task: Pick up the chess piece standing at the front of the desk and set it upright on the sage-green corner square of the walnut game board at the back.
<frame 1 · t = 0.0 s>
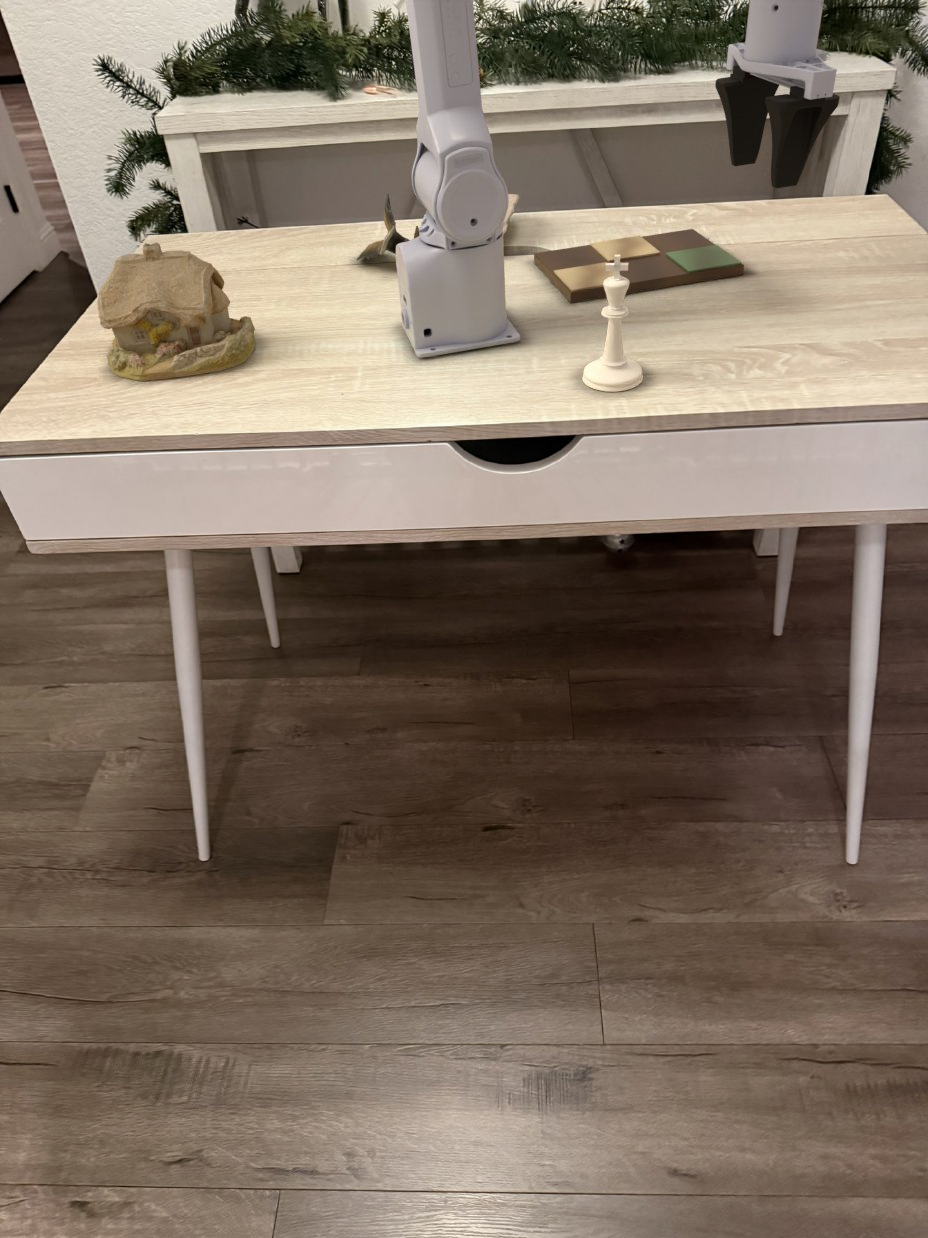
hand: (763, 174, 82), 10 cm above the table, tool pointing down, fingers open, 7 cm apart
eagle figurine: (395, 265, 100), on the table
board: (634, 268, 94), on the table
stone tool: (482, 239, 105), on the table
chess piece: (612, 380, 76), on the table
ceramic model: (183, 355, 86), on the table
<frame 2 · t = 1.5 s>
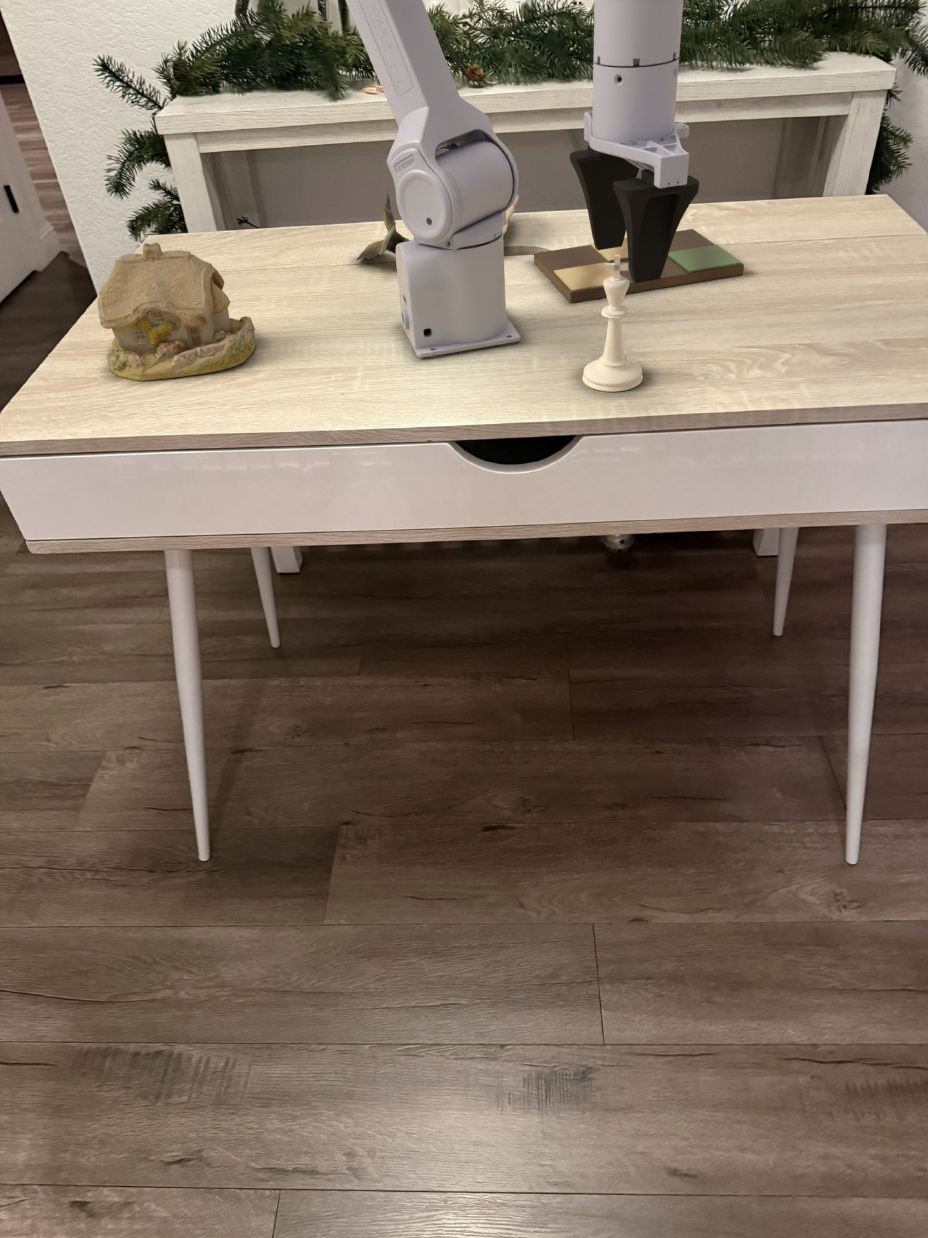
hand: (626, 262, 71), 9 cm above the table, tool pointing down, fingers open, 7 cm apart
nothing on the table moved.
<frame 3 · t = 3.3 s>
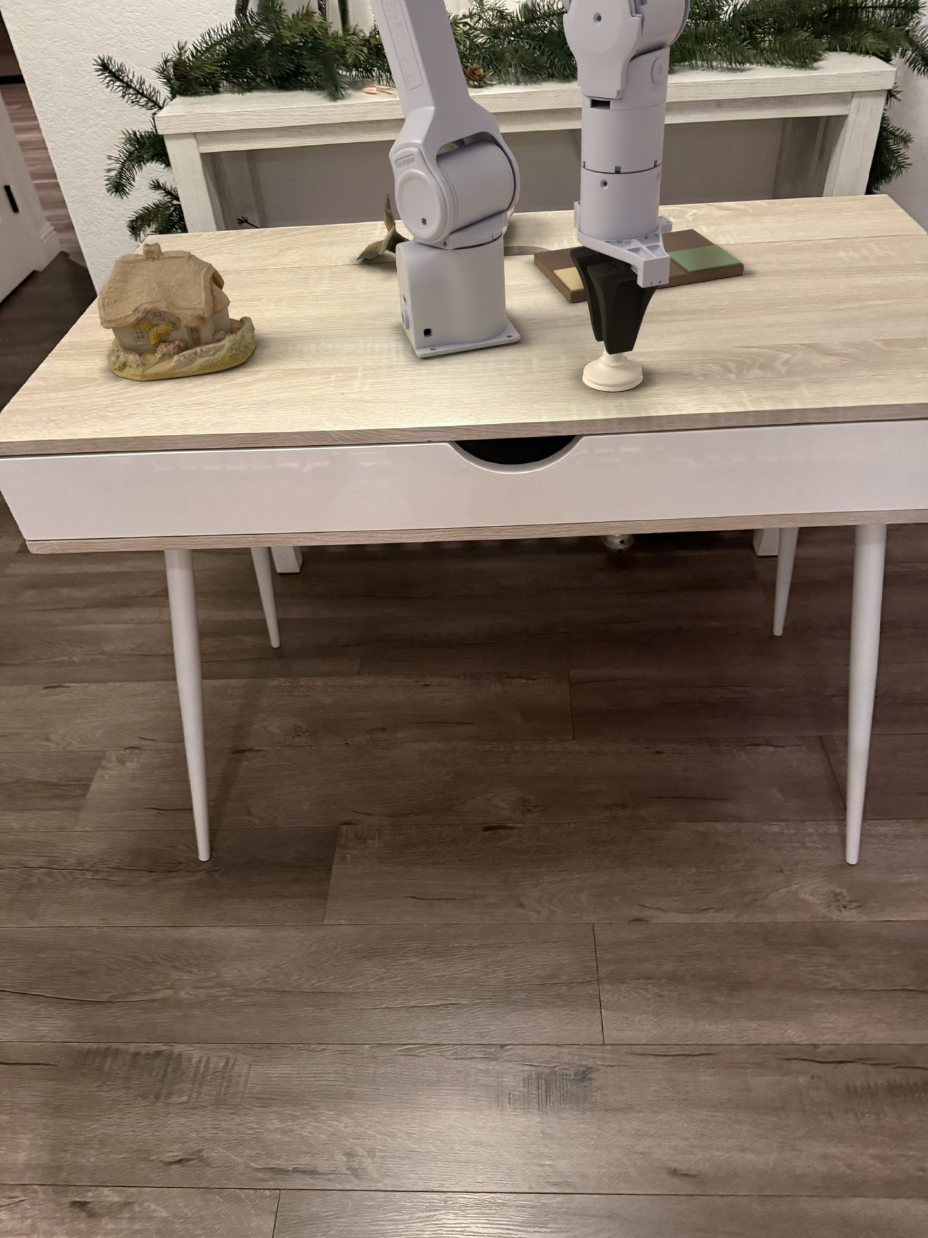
hand: (613, 344, 74), 3 cm above the table, tool pointing down, fingers closed on chess piece
chess piece: (612, 380, 76), on the table, touching gripper
everything else where it was.
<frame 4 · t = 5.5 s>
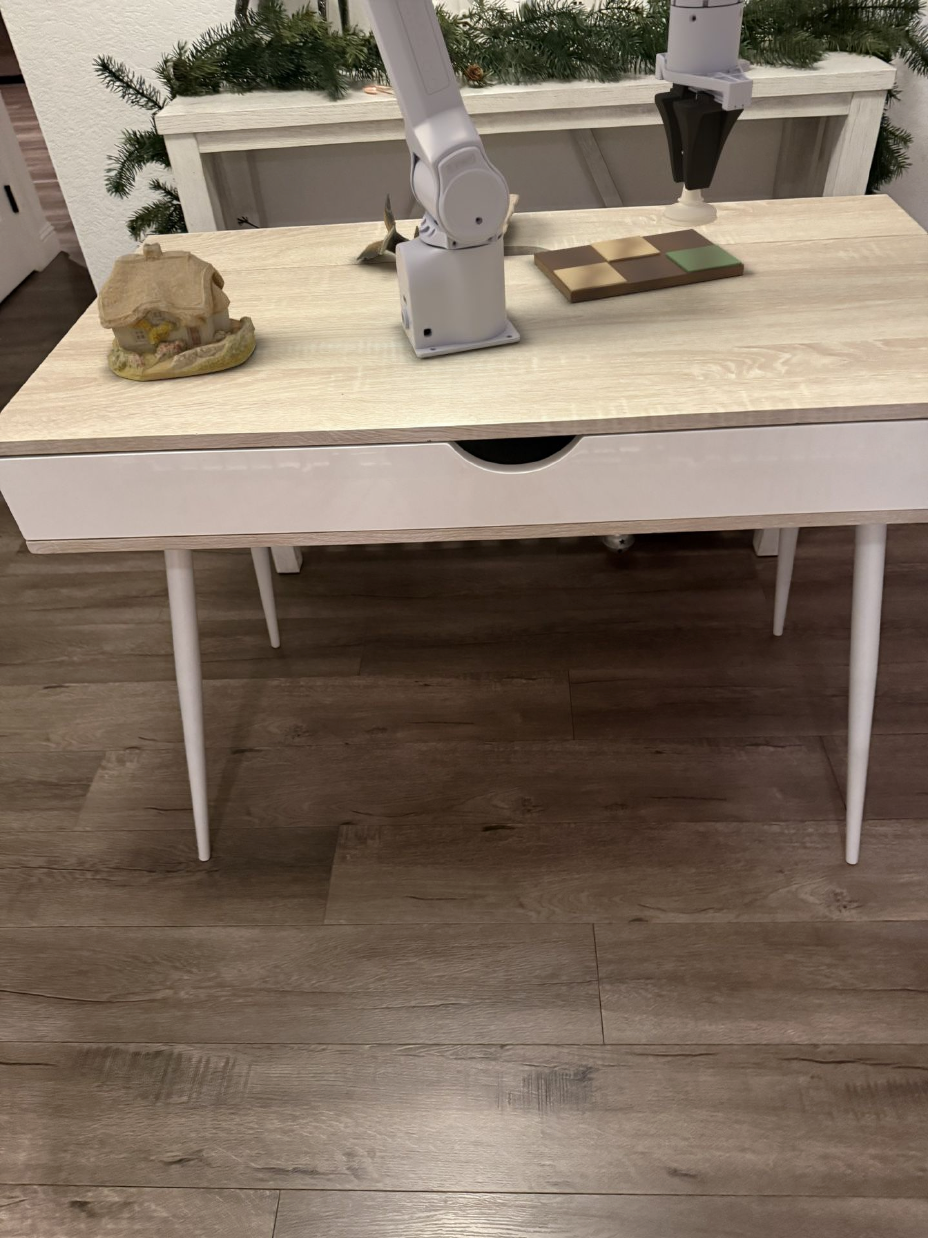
hand: (691, 184, 82), 10 cm above the table, tool pointing down, fingers closed on chess piece
chess piece: (689, 220, 84), point 7 cm above the table, touching gripper
everything else where it was.
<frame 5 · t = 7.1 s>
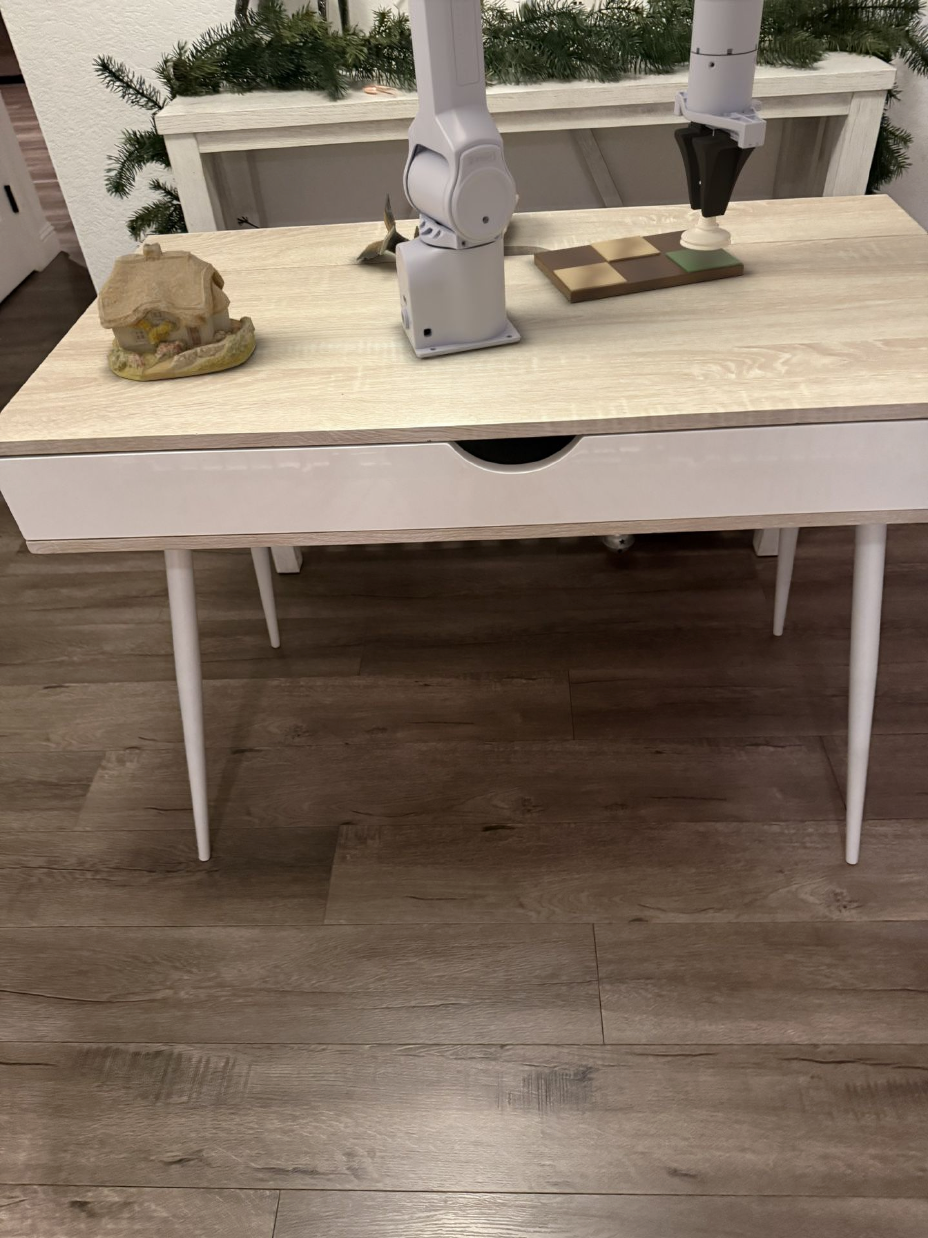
hand: (707, 211, 89), 6 cm above the table, tool pointing down, fingers closed on chess piece
chess piece: (705, 244, 91), point 2 cm above the table, touching gripper
everything else where it was.
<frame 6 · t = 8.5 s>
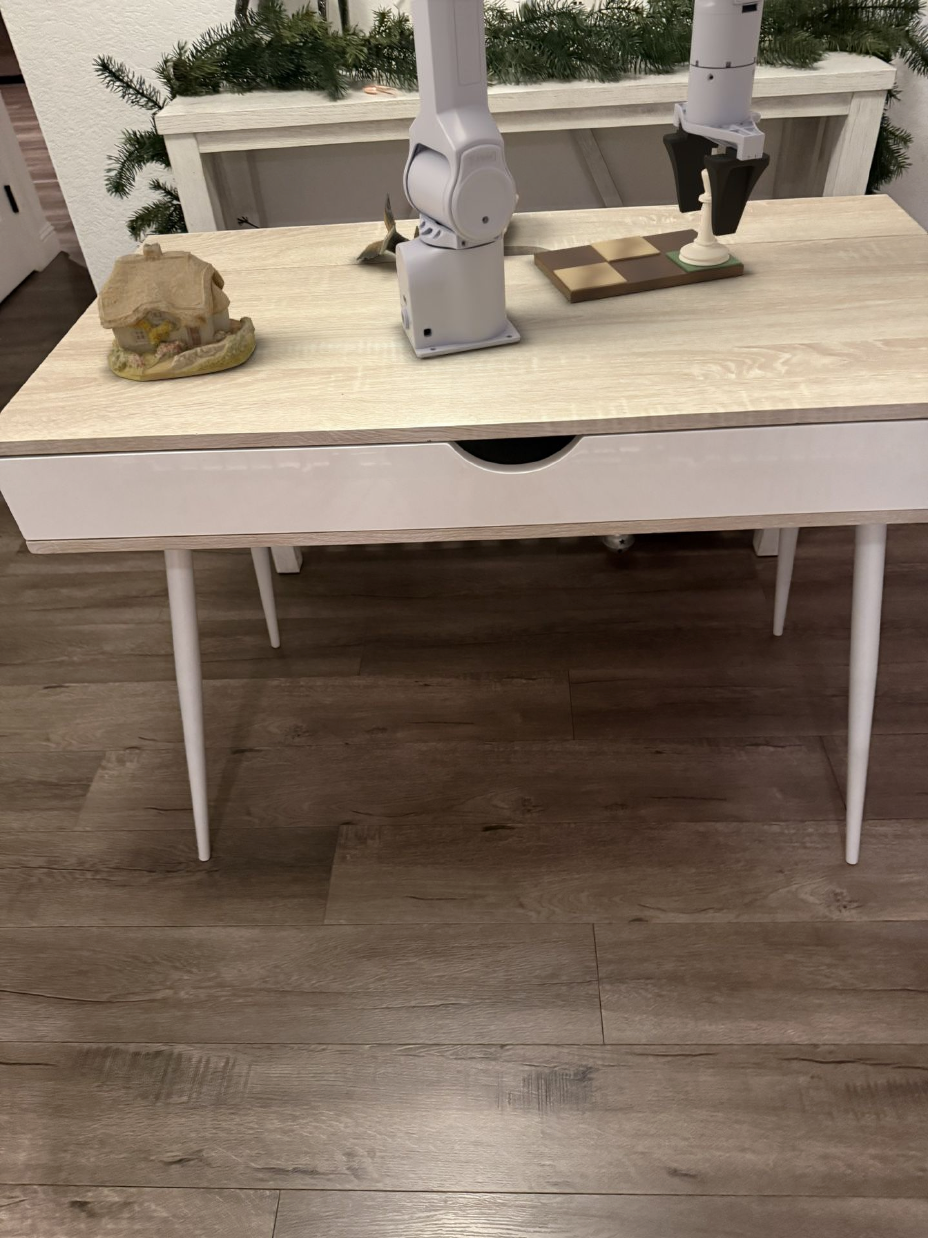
hand: (706, 221, 90), 5 cm above the table, tool pointing down, fingers open, 7 cm apart
chess piece: (703, 259, 92), point 1 cm above the table, touching board
everything else where it was.
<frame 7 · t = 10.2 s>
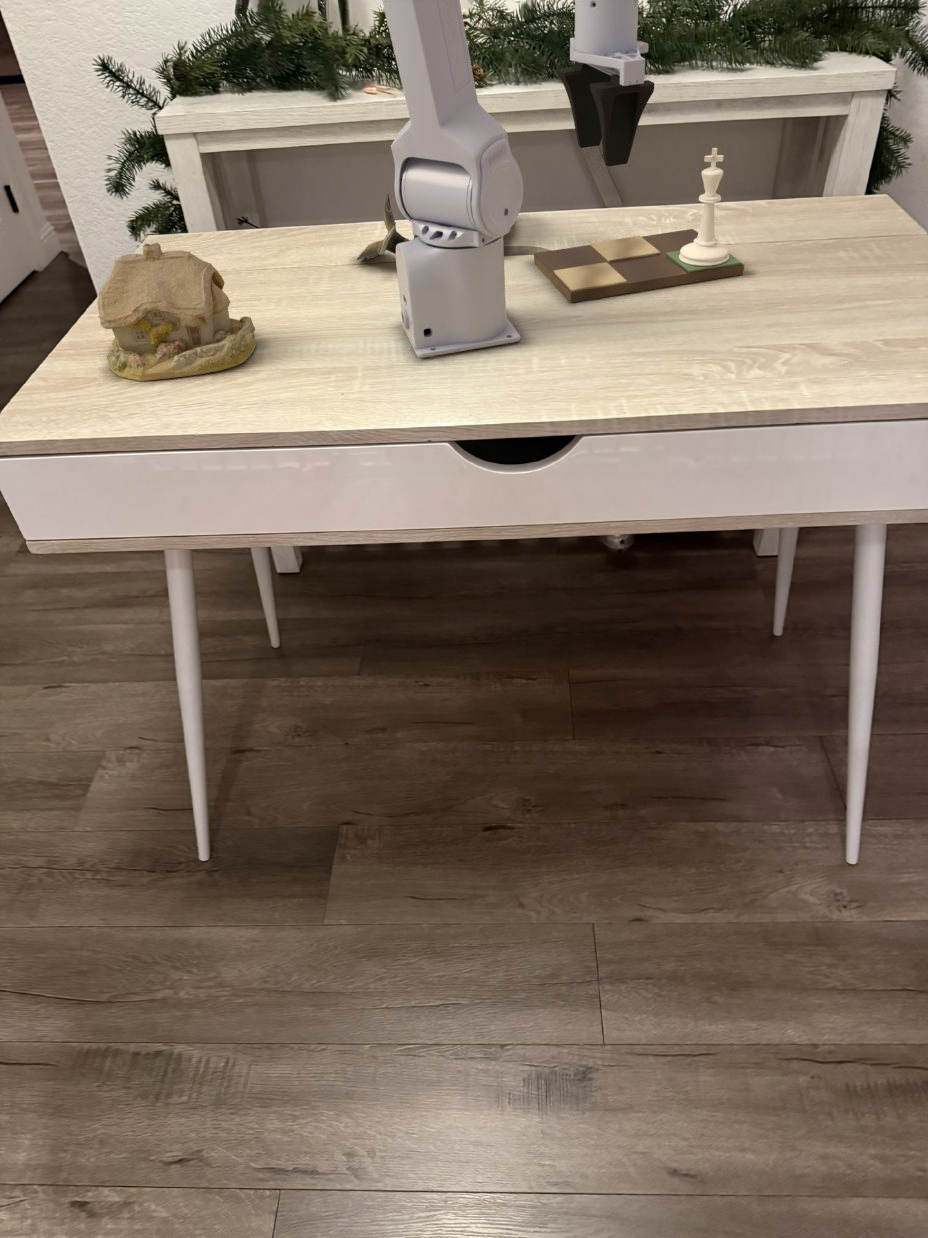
hand: (602, 154, 91), 10 cm above the table, tool pointing down, fingers open, 7 cm apart
nothing on the table moved.
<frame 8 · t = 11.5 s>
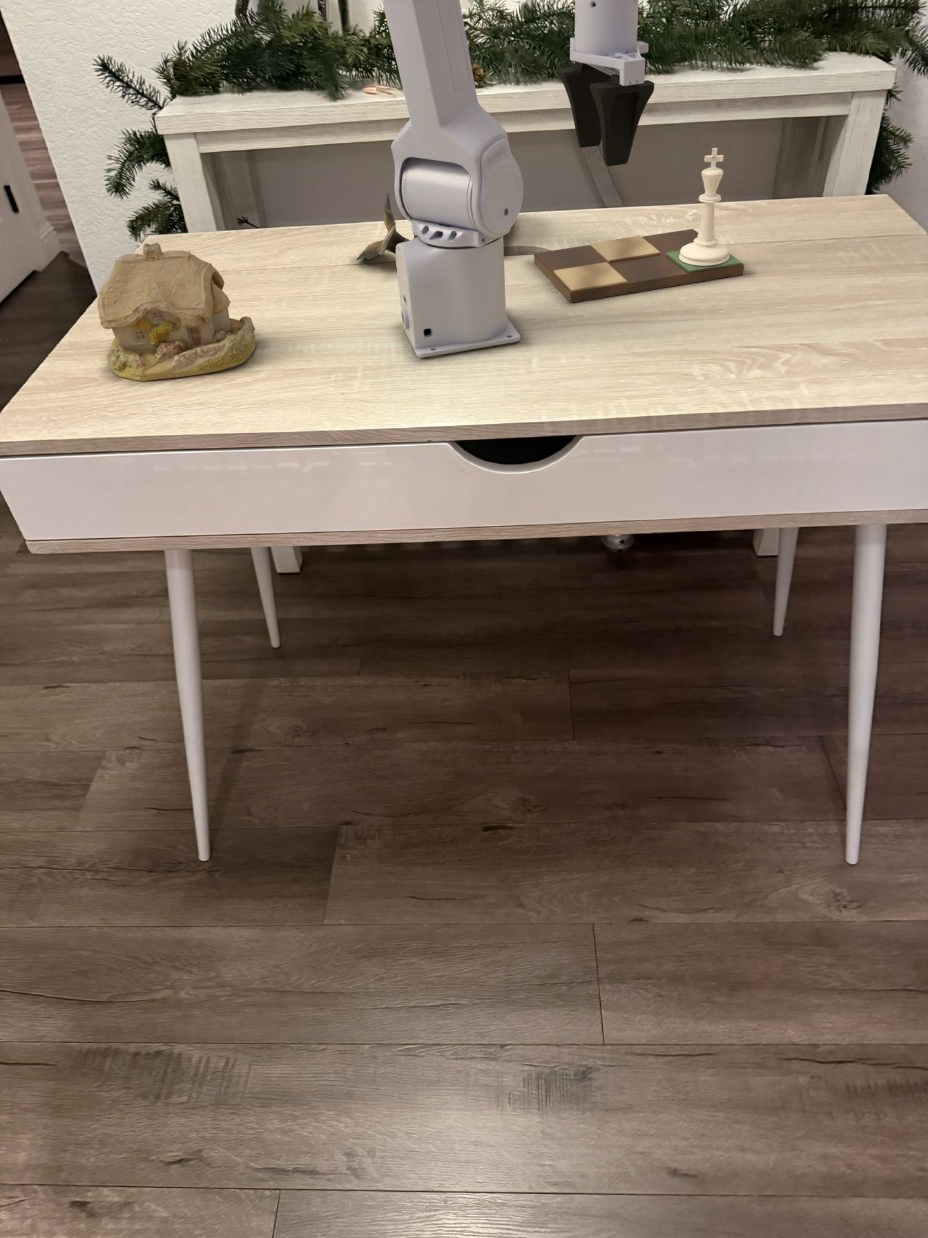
hand: (602, 154, 91), 10 cm above the table, tool pointing down, fingers open, 7 cm apart
nothing on the table moved.
at the end: chess piece 0.1 cm from the target spot on the board, point 1.0 cm above the board's base; chess piece tilted 0°; the gripper is holding nothing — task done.
